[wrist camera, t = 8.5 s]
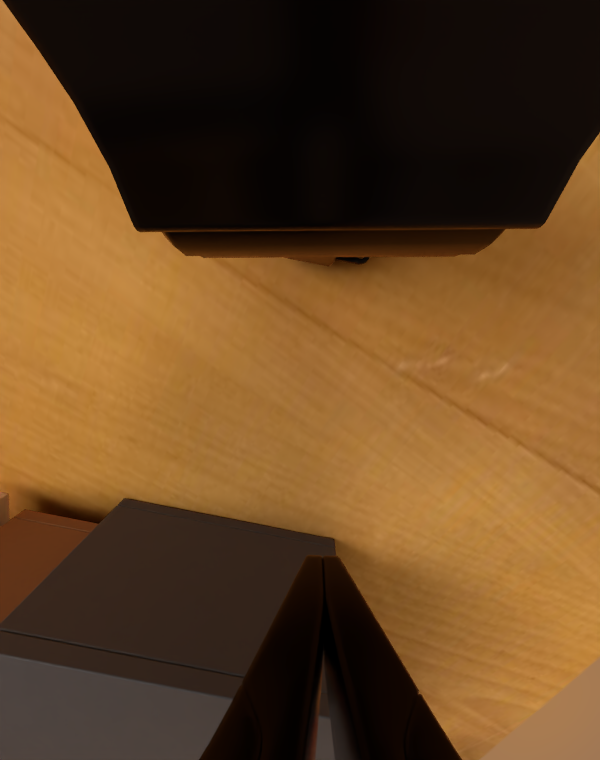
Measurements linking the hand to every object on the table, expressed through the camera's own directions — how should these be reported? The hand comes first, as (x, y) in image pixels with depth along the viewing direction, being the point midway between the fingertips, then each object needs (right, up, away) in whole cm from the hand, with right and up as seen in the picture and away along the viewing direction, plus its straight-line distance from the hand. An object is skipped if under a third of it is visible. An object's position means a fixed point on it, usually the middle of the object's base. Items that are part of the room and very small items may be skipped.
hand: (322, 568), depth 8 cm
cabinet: (-7, -10, +14) cm, 19 cm away
